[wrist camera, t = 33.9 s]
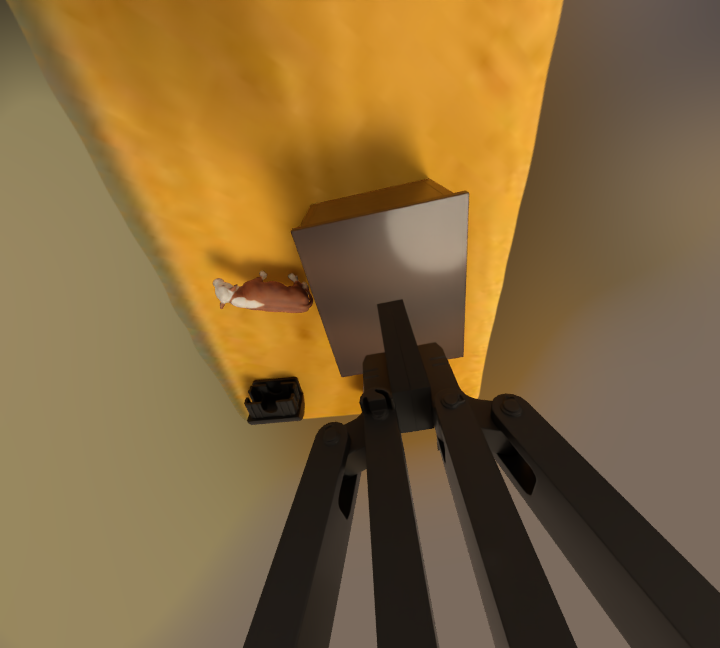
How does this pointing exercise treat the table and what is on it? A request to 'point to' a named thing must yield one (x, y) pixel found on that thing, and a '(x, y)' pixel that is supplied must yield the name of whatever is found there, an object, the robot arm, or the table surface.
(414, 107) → the table surface
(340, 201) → the chest
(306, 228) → the chest lid
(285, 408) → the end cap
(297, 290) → the bull figurine
